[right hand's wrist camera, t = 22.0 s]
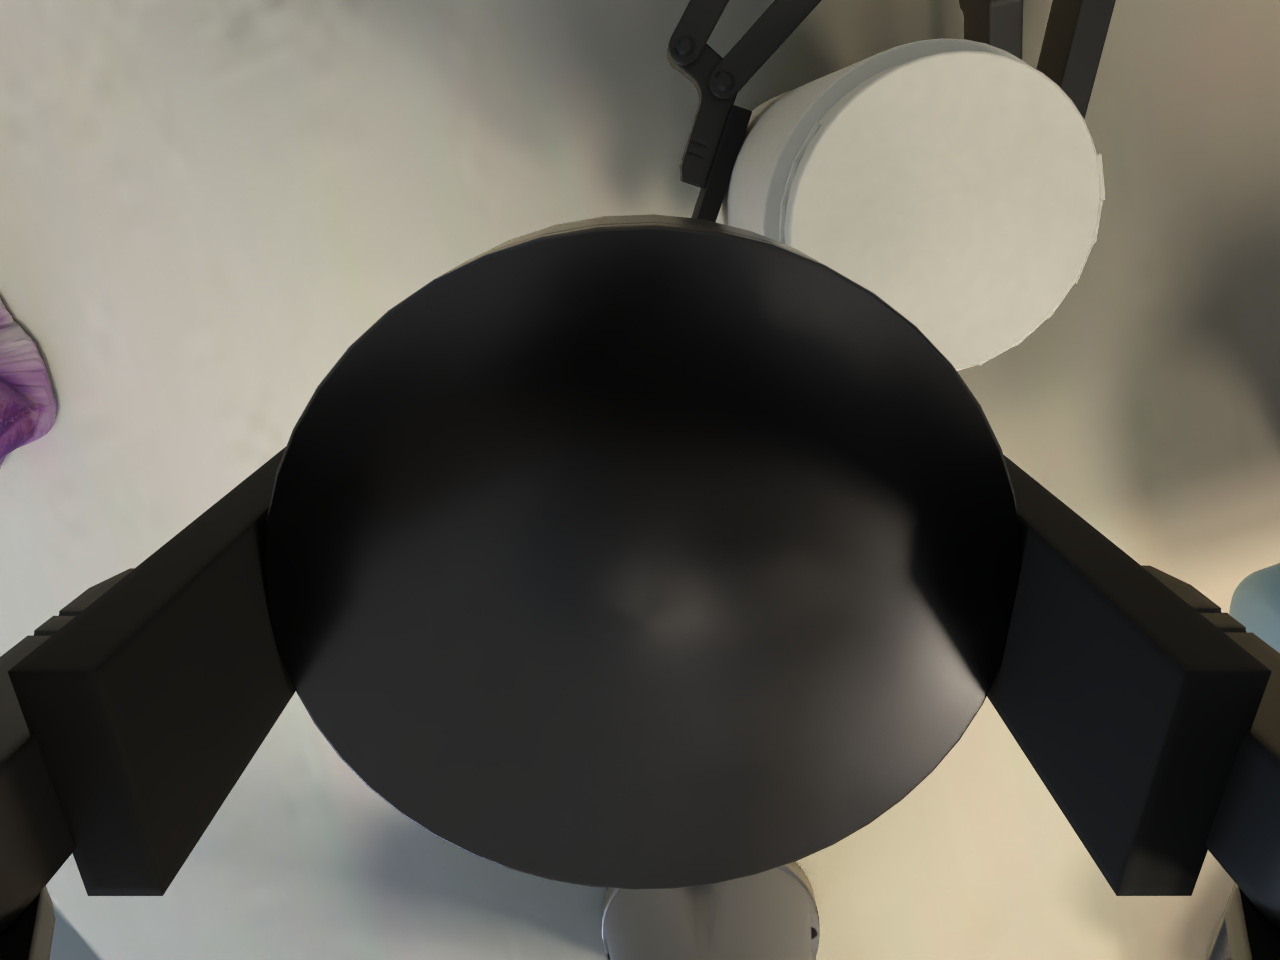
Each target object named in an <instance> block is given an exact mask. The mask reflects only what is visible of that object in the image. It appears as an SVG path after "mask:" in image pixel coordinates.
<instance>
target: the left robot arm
mask: <svg viewBox="0 0 1280 960" xmlns="http://www.w3.org/2000/svg"><path fill="white" fill-rule="evenodd" d="M728 1H729V0H690V2H689V4H688V6H687V8H686V10H685V12H684V14H683V16H682V17H681V19H680V21H679V23H678V25H677V27H676V29H675V31H674V33H673V35H672V37H671V39H670V42H669V46H668V50H667V58H668V61H669V63H670V65H671V66H672V67H673V68H674V69H677V70H678V71H679V72H681V73H682V74H683V75H684V76H685V77H686V78H688V79H689V80H690V81H691V82H692V83H693V84H694V85H695V87H696V89H697V90H698V94H699V105H698V109H697V112H696V115H695V118H694V122H693V125H692V128H691V132H690V135H689V138H688V142H687V145H686V148H685V151H684V154H683V158H682V161H681V164H680V178H681V181H682V182H685V183H688V184H691V185H694V186H697V187H700V188H701V190H700V193H699V196H698V199H697V202H696V206H695V209H694V212H693V215H692V218H694V219H704V220H708V221H712V222H716V220H717V217H718V214H719V211H720V208H721V205H722V202H723V199H724V196H725V193H726V190H727V187H728V184H729V181H730V178H731V175H732V171H733V168H734V165H735V162H736V159H737V156H738V153H739V150H740V147H741V144H742V141H743V138H744V135H745V132H746V129H747V126H748V123H749V120H750V117H751V114H752V111H749V110H746V109H743V108H740V107H738V106H735V105H733V104H734V101H735V98H736V95H737V93H738V92H739V90H740V89H741V88H742V87H743V86H744V85H745V84H746V83H747V82H748V81H749V79H750V78H751V77H752V76H753V75H754V74H755V73H756V72H757V71H758V70H759V68H760V67H761V66H762V65H763V64H764V63H765V62H766V61H767V60H768V59H769V57H770V56H771V55H772V54H773V53H774V52H775V51H776V50H777V49H778V48H779V46H780V45H781V44H782V43H783V42H784V41H785V40H786V39H787V38H788V37H789V35H790V34H791V33H792V32H793V31H794V30H795V29H796V28H797V27H798V26H799V24H800V23H801V22H802V21H803V20H804V19H805V18H806V17H807V16H808V15H809V13H810V12H811V11H812V10H813V9H814V8H815V7H816V6H817V5H818V4H819V2H820V1H821V0H775V1H774V2H773V3H772V4H771V6H770V7H769V8H768V9H767V10H766V11H765V12H764V13H763V15H762V16H761V17H760V18H759V19H758V20H757V21H756V22H755V24H754V25H753V26H752V27H751V28H750V29H749V30H748V31H747V33H746V34H745V35H744V36H743V37H742V38H741V39H740V40H739V42H738V43H737V44H736V45H735V46H734V47H733V48H732V49H731V51H730V52H729V53H728V54H727V55H726V56H725V57H724V58H722V57H721V56H720V55H719V54H717V53H716V52H715V51H714V50H713V49H712V48H711V47H710V46H708V45H707V44H706V42H707V40H708V38H709V36H710V35H711V33H712V31H713V29H714V27H715V25H716V23H717V22H718V20H719V18H720V16H721V14H722V12H723V11H724V9H725V7H726V5H727V3H728ZM1115 1H1116V0H1053V2H1052V6H1051V11H1050V15H1049V19H1048V23H1047V27H1046V32H1045V36H1044V40H1043V44H1042V49H1041V53H1040V57H1039V61H1038V65H1037V70H1039V71H1040V72H1042V73H1043V74H1045V75H1046V76H1047V77H1048V78H1050V79H1051V80H1052V81H1053V82H1055V83H1056V84H1057V85H1058V86H1059V87H1060V88H1061V89H1062V90H1063V91H1064V92H1065V93H1066V95H1067V96H1068V97H1069V98H1070V99H1071V100H1072V101H1073V103H1074V105H1075V106H1076V108H1077V109H1078V111H1079V112H1080V114H1081V115H1082V117H1083V119H1084V118H1085V114H1086V111H1087V107H1088V103H1089V99H1090V96H1091V92H1092V88H1093V84H1094V80H1095V77H1096V73H1097V69H1098V65H1099V61H1100V58H1101V54H1102V50H1103V46H1104V42H1105V39H1106V35H1107V31H1108V27H1109V24H1110V20H1111V16H1112V12H1113V8H1114V5H1115ZM959 4H960V8H961V9H962V11H963V14H964V39H966V40H971V41H976V42H981V43H986V44H988V45H991V46H994V47H996V48H999V49H1002V50H1005V51H1007V52H1009V53H1010V54H1012V55H1014V56H1016V57H1018V58H1019V59H1021V60H1022V27H1023V0H959ZM1229 615H1230V616H1232V617H1233V618H1234V619H1236V620H1237V621H1238V622H1239V623H1241V624H1242V625H1243V626H1245V627H1246V632H1247V633H1254V634H1255V635H1256V636H1258V637H1259V638H1260V639H1262V640H1263V641H1264V642H1265V643H1267V644H1268V645H1269V646H1271V647H1272V648H1273V649H1275V650H1276V651H1277V652H1278V653H1280V563H1279V564H1276V565H1273V566H1270V567H1267V568H1265V569H1262V570H1259V571H1256V572H1254V573H1252V574H1250V575H1249V576H1247V577H1246V578H1245V579H1244V580H1243V581H1242V582H1241V583H1240V584H1239V585H1238V587H1237V588H1236V590H1235V592H1234V594H1233V597H1232V600H1231V605H1230V611H1229Z"/></svg>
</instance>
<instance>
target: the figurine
mask: <svg viewBox="0 0 1280 960" xmlns="http://www.w3.org/2000/svg"><path fill="white" fill-rule="evenodd" d="M56 414H57V402H56V399H55V396H54V393H53V389H52V386H51V382H50V379H49V376H48V372H47V369H46V366H45V363H44V361H43V359H42V357H41V354H40V353H39V350H38V348H37V343H35V342H34V341H33V340H32V339H31V338H30V337H29V335H28V334H27V333H26V332H25V331H24V330H23V329H22V328H21V327H20V326H19V325H18V323H16V322H15V321H14V320H13V318H12V316H11V315H10V314H9V312H8V311H7V310H6V306H5V305H4V304H3V303H2V300H1V298H0V467H1V464H2V462H3V460H4V458H5V456H6V455H7V454H9V453H10V452H12V451H13V450H15V449H16V448H18V447H21V446H23V445H26V444H28V443H30V442H33V441H35V440H37V439H39V438H41V437H42V436H44V435H45V434H47V433H48V432H49V431H50V430H51V428H52V426H53V424H54V421H55V418H56Z"/></svg>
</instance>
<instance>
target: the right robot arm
mask: <svg viewBox="0 0 1280 960" xmlns="http://www.w3.org/2000/svg"><path fill="white" fill-rule="evenodd" d="M286 447H287V446H286ZM286 447H285V448H284V449H283V450H281V451H280V452H279V453H278V454H276V455H275V456H274V457H273V458H271V459H270V460H269V461H268V462H266V463H265V464H264V465H263V466H261V467H260V468H259V469H258V470H256V471H255V472H254V473H253V474H252V475H250V476H249V477H248V478H247V479H245V480H244V481H243V482H242V483H240V484H239V485H238V486H237V487H235V488H234V489H233V490H232V491H230V492H229V493H228V494H227V495H226V496H224V497H223V498H222V499H221V500H219V501H218V502H217V503H216V504H214V505H213V506H212V507H211V508H209V509H208V510H207V511H206V512H204V513H203V514H202V515H201V516H199V517H198V518H197V519H196V520H195V521H193V522H192V523H191V524H190V525H188V526H187V527H186V528H185V529H183V530H182V531H181V532H180V533H178V534H177V535H176V536H175V537H173V538H172V539H171V540H170V541H168V542H167V543H166V544H165V545H164V546H162V547H161V548H160V549H159V550H157V551H156V552H155V553H154V554H152V555H151V556H150V557H149V558H147V559H146V560H145V561H144V562H142V563H141V564H140V565H139V566H137V567H136V568H135V569H128V570H126V571H124V572H122V573H120V574H118V575H116V576H114V577H112V578H109V579H107V580H105V581H103V582H101V583H99V584H97V585H95V586H93V587H91V588H89V589H87V590H86V591H85V592H84V593H82V594H81V595H80V596H78V597H77V598H76V599H75V600H73V601H72V602H71V603H69V604H68V605H67V606H66V607H64V608H63V609H62V610H60V611H59V613H60V614H59V616H53V617H51V618H50V619H49V620H48V621H46V622H45V623H44V624H42V625H41V626H40V627H38V628H37V629H36V630H35V631H34V632H35V633H34V636H27V637H26V638H24V639H23V640H22V641H20V642H19V643H18V644H17V645H15V646H14V647H13V648H11V649H10V650H9V651H8V652H6V653H5V654H4V655H2V656H1V657H0V960H49V957H50V951H51V944H52V938H53V931H54V925H55V915H54V909H53V903H52V901H51V898H50V895H49V893H48V890H47V888H46V884H47V883H48V882H49V881H50V879H51V878H52V877H53V876H54V874H55V873H56V872H57V871H58V870H59V868H60V867H61V866H62V865H63V863H64V862H65V861H66V860H67V859H68V857H69V856H70V855H71V854H72V852H73V855H74V858H75V861H76V864H77V866H78V869H79V872H80V875H81V878H82V880H83V883H84V886H85V889H86V891H87V894H88V896H163V894H164V893H165V891H166V890H167V888H168V887H169V885H170V884H171V882H172V881H173V879H174V878H175V876H176V874H177V873H178V871H179V870H180V868H181V867H182V865H183V864H184V862H185V861H186V859H187V857H188V856H189V854H190V853H191V851H192V850H193V848H194V847H195V845H196V844H197V842H198V841H199V839H200V837H201V836H202V834H203V833H204V831H205V830H206V828H207V827H208V825H209V824H210V822H211V821H212V819H213V817H214V816H215V814H216V813H217V811H218V810H219V808H220V807H221V805H222V804H223V802H224V801H225V799H226V797H227V796H228V794H229V793H230V791H231V790H232V788H233V787H234V785H235V784H236V782H237V780H238V779H239V777H240V776H241V774H242V773H243V771H244V770H245V768H246V767H247V765H248V764H249V762H250V760H251V759H252V757H253V756H254V754H255V753H256V751H257V750H258V748H259V747H260V745H261V744H262V742H263V740H264V739H265V737H266V736H267V734H268V733H269V731H270V730H271V728H272V727H273V725H274V724H275V722H276V720H277V719H278V717H279V716H280V714H281V713H282V711H283V710H284V708H285V707H286V705H287V703H288V702H289V700H290V699H291V697H292V696H293V694H294V693H295V691H296V690H295V688H294V686H293V683H292V681H291V678H290V676H289V673H288V671H287V669H286V666H285V664H284V661H283V659H282V656H281V654H280V651H279V649H278V645H277V641H276V636H275V632H274V628H273V624H272V620H271V616H270V612H269V608H268V599H267V588H266V578H265V567H264V558H265V541H266V523H267V515H268V510H269V505H270V501H271V496H272V491H273V487H274V482H275V477H276V473H277V470H278V468H279V465H280V462H281V460H282V457H283V455H284V452H285V449H286ZM1003 456H1004V455H1003ZM1004 459H1005V463H1006V466H1007V469H1008V472H1009V476H1010V479H1011V482H1012V486H1013V489H1014V492H1015V498H1016V505H1017V512H1018V520H1019V527H1020V534H1021V571H1020V577H1019V583H1018V588H1017V593H1016V598H1015V602H1014V607H1013V612H1012V617H1011V622H1010V627H1009V632H1008V637H1007V641H1006V646H1005V650H1004V655H1003V659H1002V663H1001V667H1000V669H999V671H998V673H997V675H996V677H995V679H994V681H993V684H992V686H991V688H990V690H989V692H988V694H987V697H988V698H989V700H990V701H991V703H992V704H993V706H994V707H995V709H996V710H997V712H998V714H999V715H1000V717H1001V718H1002V720H1003V721H1004V723H1005V724H1006V726H1007V727H1008V729H1009V730H1010V732H1011V734H1012V735H1013V737H1014V738H1015V740H1016V741H1017V743H1018V744H1019V746H1020V747H1021V749H1022V750H1023V752H1024V754H1025V755H1026V757H1027V758H1028V760H1029V761H1030V763H1031V764H1032V766H1033V767H1034V769H1035V771H1036V772H1037V774H1038V775H1039V777H1040V778H1041V780H1042V781H1043V783H1044V784H1045V786H1046V787H1047V789H1048V791H1049V792H1050V794H1051V795H1052V797H1053V798H1054V800H1055V801H1056V803H1057V804H1058V806H1059V807H1060V809H1061V811H1062V812H1063V814H1064V815H1065V817H1066V818H1067V820H1068V821H1069V823H1070V824H1071V826H1072V828H1073V829H1074V831H1075V832H1076V834H1077V835H1078V837H1079V838H1080V840H1081V841H1082V843H1083V844H1084V846H1085V848H1086V849H1087V851H1088V852H1089V854H1090V855H1091V857H1092V858H1093V860H1094V861H1095V863H1096V864H1097V866H1098V868H1099V869H1100V871H1101V872H1102V874H1103V875H1104V877H1105V878H1106V880H1107V881H1108V883H1109V885H1110V886H1111V888H1112V889H1113V891H1114V892H1115V894H1116V895H1117V896H1191V895H1192V892H1193V890H1194V887H1195V884H1196V881H1197V878H1198V876H1199V873H1200V870H1201V867H1202V864H1203V862H1204V859H1205V856H1206V853H1207V851H1208V850H1209V851H1210V852H1211V854H1212V855H1213V856H1214V857H1215V858H1216V860H1217V861H1218V862H1219V863H1220V864H1221V866H1222V867H1223V868H1224V869H1225V871H1226V872H1227V873H1228V874H1229V875H1230V877H1231V878H1232V879H1233V880H1234V881H1235V885H1234V888H1233V890H1232V893H1231V895H1230V898H1229V901H1228V903H1227V906H1226V908H1225V911H1224V914H1223V916H1222V919H1221V921H1220V924H1219V927H1218V929H1217V932H1216V934H1215V937H1214V940H1213V942H1212V945H1211V947H1210V950H1209V953H1208V955H1207V960H1227V959H1229V958H1231V960H1280V653H1278V652H1277V651H1276V650H1275V649H1273V648H1272V647H1271V646H1269V645H1268V644H1267V643H1265V642H1264V641H1263V640H1262V639H1260V638H1259V637H1258V636H1256V635H1255V634H1254V633H1247V632H1246V627H1245V626H1243V625H1242V624H1241V623H1239V622H1238V621H1237V620H1236V619H1234V618H1233V617H1232V616H1230V615H1229V614H1228V613H1221V608H1220V607H1219V606H1217V605H1216V604H1215V603H1213V602H1212V601H1211V600H1210V599H1208V598H1207V597H1206V596H1204V595H1203V594H1202V593H1200V592H1199V591H1198V590H1197V589H1195V588H1194V587H1193V586H1191V585H1189V584H1187V583H1185V582H1183V581H1181V580H1179V579H1177V578H1175V577H1173V576H1171V575H1168V574H1166V573H1164V572H1162V571H1160V570H1158V569H1156V568H1154V567H1152V566H1141V565H1139V564H1138V563H1137V562H1136V561H1134V560H1133V559H1132V558H1131V557H1130V556H1128V555H1127V554H1126V553H1125V552H1123V551H1122V550H1121V549H1120V548H1118V547H1117V546H1116V545H1115V544H1113V543H1112V542H1111V541H1110V540H1108V539H1107V538H1106V537H1105V536H1104V535H1102V534H1101V533H1100V532H1099V531H1097V530H1096V529H1095V528H1094V527H1092V526H1091V525H1090V524H1089V523H1087V522H1086V521H1085V520H1084V519H1082V518H1081V517H1080V516H1079V515H1077V514H1076V513H1075V512H1074V511H1073V510H1071V509H1070V508H1069V507H1068V506H1066V505H1065V504H1064V503H1063V502H1061V501H1060V500H1059V499H1058V498H1056V497H1055V496H1054V495H1053V494H1051V493H1050V492H1049V491H1048V490H1047V489H1045V488H1044V487H1043V486H1042V485H1040V484H1039V483H1038V482H1037V481H1035V480H1034V479H1033V478H1032V477H1030V476H1029V475H1028V474H1027V473H1025V472H1024V471H1023V470H1022V469H1020V468H1019V467H1018V466H1017V465H1016V464H1014V463H1013V462H1012V461H1011V460H1009V459H1008V458H1007V457H1006V456H1004ZM602 938H603V944H604V950H605V954H606V957H607V960H816V954H817V951H818V944H819V916H818V911H817V907H816V902H815V898H814V894H813V891H812V888H811V885H810V883H809V881H808V879H807V877H806V876H805V874H804V873H803V871H802V870H801V869H800V868H799V867H798V866H797V865H796V864H795V863H794V862H792V863H789V864H786V865H783V866H780V867H777V868H774V869H771V870H768V871H765V872H762V873H759V874H755V875H751V876H747V877H742V878H738V879H733V880H729V881H724V882H720V883H715V884H707V885H698V886H690V887H682V888H672V889H634V890H633V889H618V888H608V889H607V892H606V895H605V898H604V903H603V916H602Z"/></svg>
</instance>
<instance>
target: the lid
mask: <svg viewBox="0 0 1280 960" xmlns="http://www.w3.org/2000/svg"><path fill="white" fill-rule="evenodd" d="M264 567H265V578H266V588H267V599H268V608H269V612H270V616H271V620H272V624H273V628H274V632H275V636H276V641H277V645H278V649H279V651H280V654H281V656H282V659H283V661H284V664H285V666H286V669H287V671H288V673H289V676H290V678H291V681H292V683H293V686H294V688H295V690H296V692H297V693H298V695H299V697H300V699H301V700H302V702H303V704H304V706H305V708H306V709H307V711H308V713H309V715H310V716H311V718H312V720H313V722H314V723H315V725H316V726H317V727H318V729H319V730H320V731H321V733H322V734H323V735H324V737H325V738H326V739H327V741H328V742H329V743H330V745H331V746H332V747H333V749H334V750H335V751H336V753H337V754H338V755H339V757H340V758H341V759H342V760H343V761H344V762H345V763H346V764H347V765H348V766H349V767H350V768H351V769H352V770H353V771H354V772H355V773H356V774H357V775H358V776H359V777H360V778H361V780H362V781H363V782H364V783H365V784H366V785H367V786H368V787H369V788H371V789H372V790H373V791H374V792H375V793H377V794H378V795H379V796H380V797H382V798H383V799H384V800H385V801H386V802H388V803H389V804H390V805H391V806H393V807H394V808H395V809H396V810H397V811H399V812H400V813H401V814H403V815H404V816H406V817H407V818H409V819H411V820H412V821H414V822H415V823H417V824H418V825H420V826H421V827H423V828H424V829H426V830H428V831H429V832H431V833H432V834H434V835H435V836H437V837H439V838H441V839H443V840H445V841H447V842H449V843H451V844H453V845H455V846H457V847H459V848H461V849H463V850H465V851H467V852H469V853H471V854H473V855H476V856H478V857H481V858H483V859H486V860H489V861H491V862H494V863H497V864H499V865H502V866H504V867H507V868H510V869H513V870H517V871H520V872H524V873H528V874H531V875H535V876H539V877H542V878H546V879H550V880H555V881H561V882H567V883H573V884H579V885H585V886H591V887H604V888H618V889H633V890H634V889H672V888H682V887H690V886H698V885H707V884H715V883H720V882H724V881H729V880H733V879H738V878H742V877H747V876H751V875H755V874H759V873H762V872H765V871H768V870H771V869H774V868H777V867H780V866H783V865H786V864H789V863H792V862H795V861H797V860H800V859H802V858H804V857H806V856H809V855H811V854H813V853H815V852H818V851H820V850H822V849H824V848H827V847H829V846H831V845H833V844H835V843H837V842H838V841H840V840H842V839H844V838H845V837H847V836H849V835H851V834H852V833H854V832H856V831H857V830H859V829H861V828H863V827H864V826H866V825H868V824H869V823H871V822H872V821H873V820H875V819H876V818H878V817H879V816H880V815H882V814H883V813H884V812H886V811H887V810H888V809H890V808H891V807H893V806H894V805H895V804H897V803H898V802H899V801H901V800H902V799H903V798H904V797H905V796H906V795H908V794H909V793H910V792H911V791H912V790H913V789H914V788H915V787H916V786H917V785H918V784H919V783H920V782H922V781H923V780H924V779H925V778H926V777H927V776H928V775H929V774H930V773H931V772H932V771H933V770H934V769H935V768H936V767H937V766H938V764H939V763H940V762H941V761H942V760H943V758H944V757H945V756H946V755H947V754H948V753H949V751H950V750H951V749H952V748H953V747H954V746H955V744H956V743H957V742H958V741H959V740H960V738H961V737H962V735H963V734H964V732H965V730H966V729H967V727H968V726H969V724H970V723H971V721H972V720H973V718H974V717H975V715H976V714H977V712H978V711H979V709H980V707H981V706H982V704H983V702H984V700H985V698H986V696H987V694H988V692H989V690H990V688H991V686H992V684H993V681H994V679H995V677H996V675H997V673H998V671H999V669H1000V667H1001V663H1002V659H1003V655H1004V650H1005V646H1006V641H1007V637H1008V632H1009V627H1010V622H1011V617H1012V612H1013V607H1014V602H1015V598H1016V593H1017V588H1018V583H1019V577H1020V571H1021V534H1020V527H1019V520H1018V512H1017V505H1016V498H1015V492H1014V489H1013V486H1012V482H1011V479H1010V476H1009V472H1008V469H1007V466H1006V463H1005V459H1004V456H1003V453H1002V449H1001V447H1000V445H999V443H998V441H997V439H996V437H995V435H994V433H993V430H992V428H991V426H990V424H989V422H988V420H987V418H986V416H985V414H984V412H983V410H982V408H981V406H980V404H979V403H978V401H977V400H976V398H975V397H974V395H973V394H972V392H971V391H970V390H969V388H968V387H967V385H966V384H965V382H964V381H963V379H962V378H961V377H960V375H959V374H958V372H957V371H956V369H955V368H954V366H953V365H952V364H951V363H950V362H949V360H948V359H947V358H946V357H945V356H944V355H943V354H942V353H941V352H940V351H939V350H938V349H937V348H936V347H935V346H934V345H933V344H932V342H931V341H930V340H929V339H928V338H927V337H926V336H925V335H924V334H923V333H922V332H921V331H920V330H919V329H918V328H917V327H916V326H915V325H914V324H913V323H911V322H910V321H909V320H908V319H906V318H905V317H904V316H902V315H901V314H900V313H899V312H897V311H896V310H895V309H894V308H892V307H891V306H890V305H888V304H887V303H886V302H885V301H883V300H882V299H881V298H880V297H878V296H877V295H876V294H874V293H873V292H871V291H869V290H868V289H866V288H864V287H862V286H861V285H859V284H857V283H856V282H854V281H852V280H850V279H849V278H847V277H845V276H843V275H842V274H840V273H838V272H836V271H835V270H833V269H831V268H829V267H828V266H826V265H824V264H822V263H820V262H819V261H817V260H815V259H813V258H812V257H810V256H808V255H806V254H804V253H803V252H801V251H799V250H797V249H795V248H793V247H790V246H788V245H785V244H783V243H780V242H777V241H775V240H772V239H770V238H767V237H765V236H762V235H760V234H757V233H755V232H752V231H749V230H745V229H741V228H736V227H732V226H728V225H724V224H720V223H716V222H712V221H708V220H704V219H694V218H684V217H674V216H664V215H629V216H604V217H598V218H593V219H587V220H581V221H576V222H570V223H565V224H559V225H554V226H551V227H548V228H545V229H542V230H539V231H536V232H533V233H530V234H527V235H524V236H521V237H518V238H514V239H511V240H509V241H507V242H504V243H502V244H500V245H498V246H496V247H494V248H492V249H490V250H488V251H486V252H484V253H482V254H480V255H478V256H476V257H474V258H472V259H470V260H468V261H466V262H464V263H462V264H461V265H459V266H457V267H455V268H454V269H452V270H450V271H448V272H447V273H445V274H443V275H441V276H440V277H438V278H436V279H434V280H433V281H431V282H430V283H428V284H427V285H425V286H424V287H423V288H421V289H420V290H418V291H417V292H415V293H414V294H412V295H411V296H409V297H408V298H406V299H405V300H403V301H402V302H401V303H399V304H398V305H396V306H395V307H393V308H392V309H390V310H389V311H388V312H387V313H385V314H384V315H383V316H382V317H381V318H380V319H379V320H378V321H377V322H376V323H375V324H374V325H373V326H371V327H370V328H369V329H368V330H367V331H366V332H365V333H364V334H363V335H362V336H361V337H360V338H358V339H357V340H356V341H355V342H354V343H353V344H352V345H351V346H350V347H349V348H348V349H347V351H346V352H345V353H344V354H343V356H342V357H341V358H340V359H339V361H338V362H337V363H336V364H335V366H334V367H333V368H332V369H331V371H330V372H329V373H328V374H327V376H326V377H325V378H324V379H323V381H322V382H321V383H320V384H319V386H318V387H317V389H316V390H315V392H314V394H313V396H312V397H311V399H310V401H309V403H308V404H307V406H306V408H305V410H304V411H303V413H302V415H301V417H300V418H299V420H298V422H297V424H296V425H295V427H294V429H293V431H292V434H291V436H290V439H289V442H288V444H287V447H286V449H285V452H284V455H283V457H282V460H281V462H280V465H279V468H278V470H277V473H276V477H275V482H274V487H273V491H272V496H271V501H270V505H269V510H268V515H267V523H266V541H265V558H264Z"/></svg>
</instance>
